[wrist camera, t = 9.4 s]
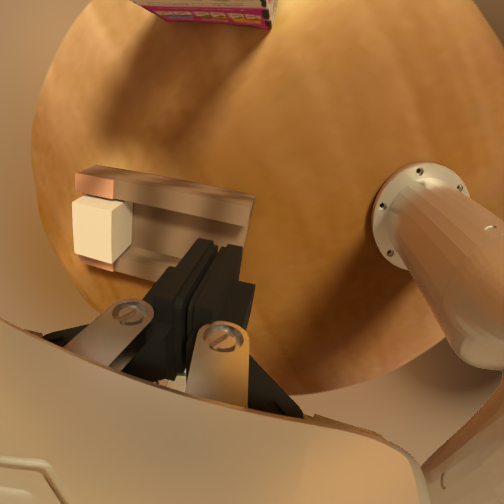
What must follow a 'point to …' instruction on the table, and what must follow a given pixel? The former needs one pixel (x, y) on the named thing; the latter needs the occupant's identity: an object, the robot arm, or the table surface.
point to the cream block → (101, 227)
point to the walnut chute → (166, 217)
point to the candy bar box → (214, 11)
